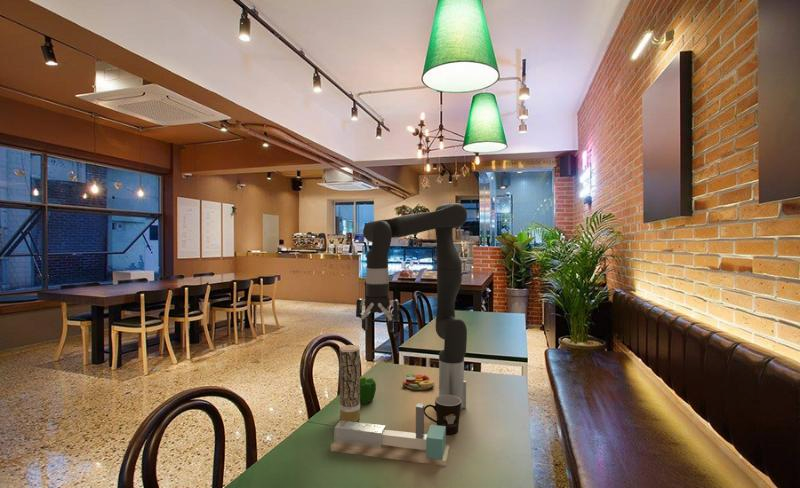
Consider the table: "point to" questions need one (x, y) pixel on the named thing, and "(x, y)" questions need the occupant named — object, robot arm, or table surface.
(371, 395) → the bell pepper
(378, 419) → the table surface
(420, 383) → the toy food set
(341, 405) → the paper tube
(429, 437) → the teal socket
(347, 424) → the metal sleeve
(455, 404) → the coffee mug
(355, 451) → the track board
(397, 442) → the white bar
